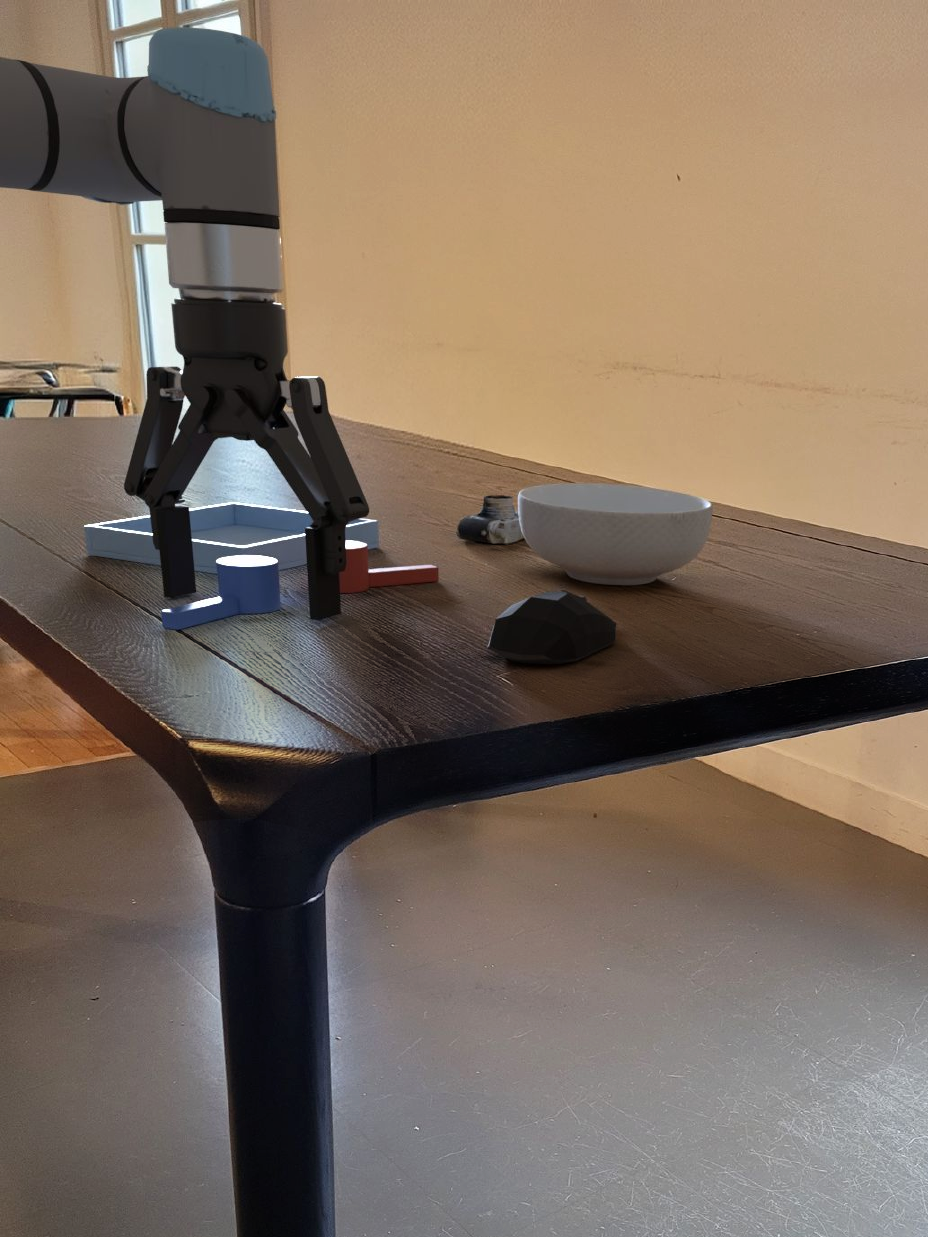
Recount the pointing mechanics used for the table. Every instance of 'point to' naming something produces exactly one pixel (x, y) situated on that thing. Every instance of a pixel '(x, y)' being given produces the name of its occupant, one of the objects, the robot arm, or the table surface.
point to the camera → (492, 522)
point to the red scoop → (378, 572)
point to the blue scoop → (233, 593)
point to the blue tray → (223, 536)
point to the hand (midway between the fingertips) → (251, 606)
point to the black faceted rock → (551, 629)
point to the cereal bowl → (613, 530)
